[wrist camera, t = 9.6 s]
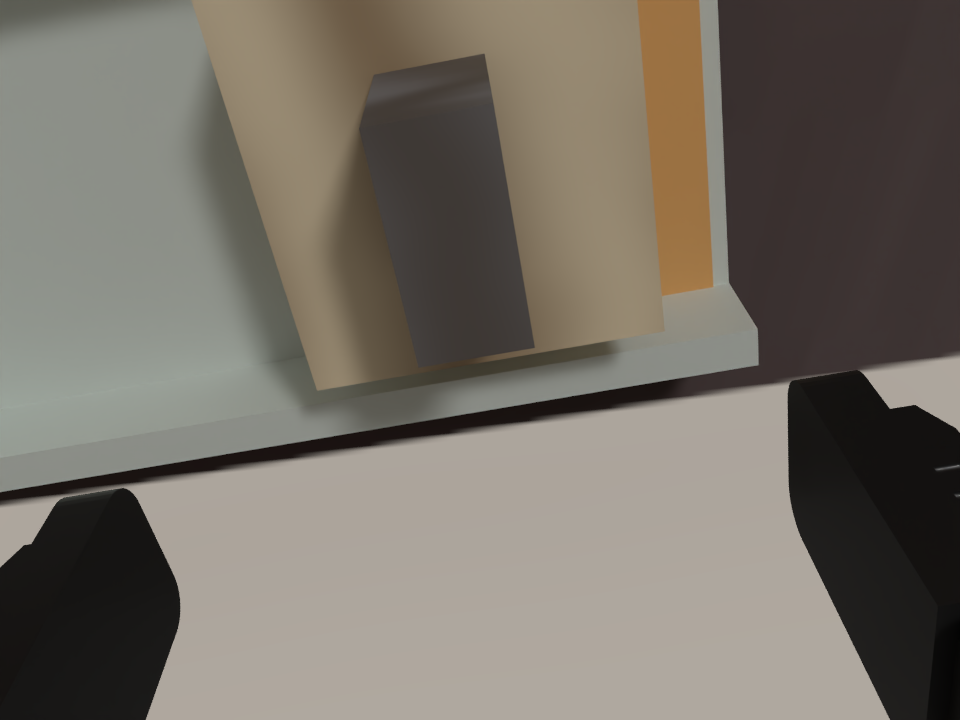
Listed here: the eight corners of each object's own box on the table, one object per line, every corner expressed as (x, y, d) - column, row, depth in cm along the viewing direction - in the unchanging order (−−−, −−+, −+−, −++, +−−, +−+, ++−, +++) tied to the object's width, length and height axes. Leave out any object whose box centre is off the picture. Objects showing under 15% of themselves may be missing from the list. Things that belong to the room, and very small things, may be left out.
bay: (694, -290, 21) (775, -327, 16) (721, 302, 30) (780, 403, 24) (-326, -74, 23) (-549, -46, 18) (-35, 432, 31) (-130, 553, 26)
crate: (592, -121, 22) (673, -92, 14) (629, 251, 27) (704, 421, 19) (234, -49, 23) (124, 16, 15) (336, 302, 28) (295, 488, 20)
